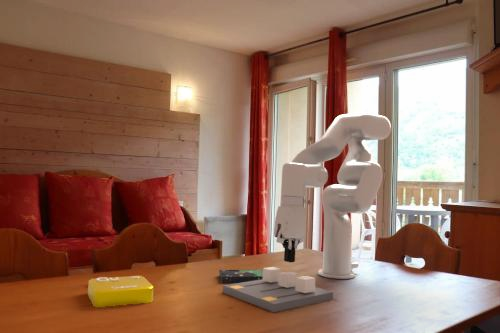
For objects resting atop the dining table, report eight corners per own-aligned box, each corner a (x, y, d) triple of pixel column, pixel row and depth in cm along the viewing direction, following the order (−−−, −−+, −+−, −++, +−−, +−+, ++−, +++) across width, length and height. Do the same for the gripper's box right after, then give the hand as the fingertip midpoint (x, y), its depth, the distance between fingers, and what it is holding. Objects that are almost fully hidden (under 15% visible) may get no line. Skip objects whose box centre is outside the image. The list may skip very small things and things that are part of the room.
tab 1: (272, 278, 136) (272, 266, 136) (280, 280, 133) (280, 268, 133) (262, 280, 133) (262, 268, 133) (270, 282, 130) (270, 270, 130)
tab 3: (305, 288, 125) (305, 275, 125) (314, 291, 122) (315, 278, 122) (295, 290, 122) (295, 277, 122) (304, 293, 119) (305, 279, 119)
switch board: (279, 283, 140) (279, 276, 140) (332, 299, 123) (333, 291, 123) (222, 292, 127) (222, 285, 127) (273, 312, 109) (274, 303, 110)
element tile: (93, 310, 108) (94, 290, 108) (87, 294, 122) (87, 277, 122) (154, 304, 115) (155, 285, 115) (141, 290, 128) (142, 273, 128)
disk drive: (221, 285, 137) (268, 284, 140) (221, 276, 138) (268, 275, 140) (218, 277, 148) (262, 277, 150) (218, 269, 148) (262, 268, 150)
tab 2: (288, 283, 130) (288, 271, 130) (297, 285, 127) (297, 273, 127) (278, 285, 128) (278, 272, 128) (286, 287, 125) (287, 274, 125)
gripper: (300, 202, 146) (297, 258, 145) (266, 201, 137) (263, 261, 136) (317, 203, 140) (314, 262, 139) (283, 202, 131) (279, 265, 130)
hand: (289, 261), depth 137 cm, fingers closed
